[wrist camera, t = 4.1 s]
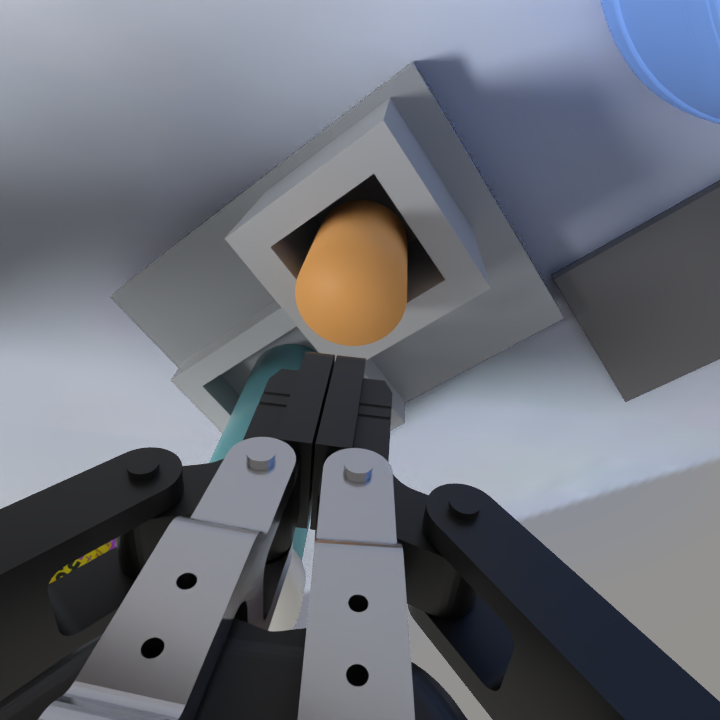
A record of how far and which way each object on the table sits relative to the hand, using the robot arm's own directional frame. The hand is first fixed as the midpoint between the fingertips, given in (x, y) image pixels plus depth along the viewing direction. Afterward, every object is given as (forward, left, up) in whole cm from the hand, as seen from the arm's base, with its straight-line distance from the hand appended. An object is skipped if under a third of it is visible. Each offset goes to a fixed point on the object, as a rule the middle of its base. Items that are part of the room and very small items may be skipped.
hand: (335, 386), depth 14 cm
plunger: (0, 0, -10) cm, 10 cm away
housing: (+3, -4, -17) cm, 18 cm away
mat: (+13, +10, -17) cm, 23 cm away
